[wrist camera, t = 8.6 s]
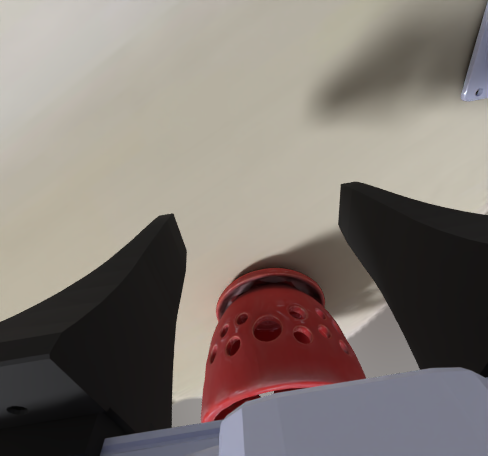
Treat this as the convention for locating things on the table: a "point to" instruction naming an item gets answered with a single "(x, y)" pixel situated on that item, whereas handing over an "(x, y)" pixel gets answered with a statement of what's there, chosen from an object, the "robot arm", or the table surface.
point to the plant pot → (273, 342)
